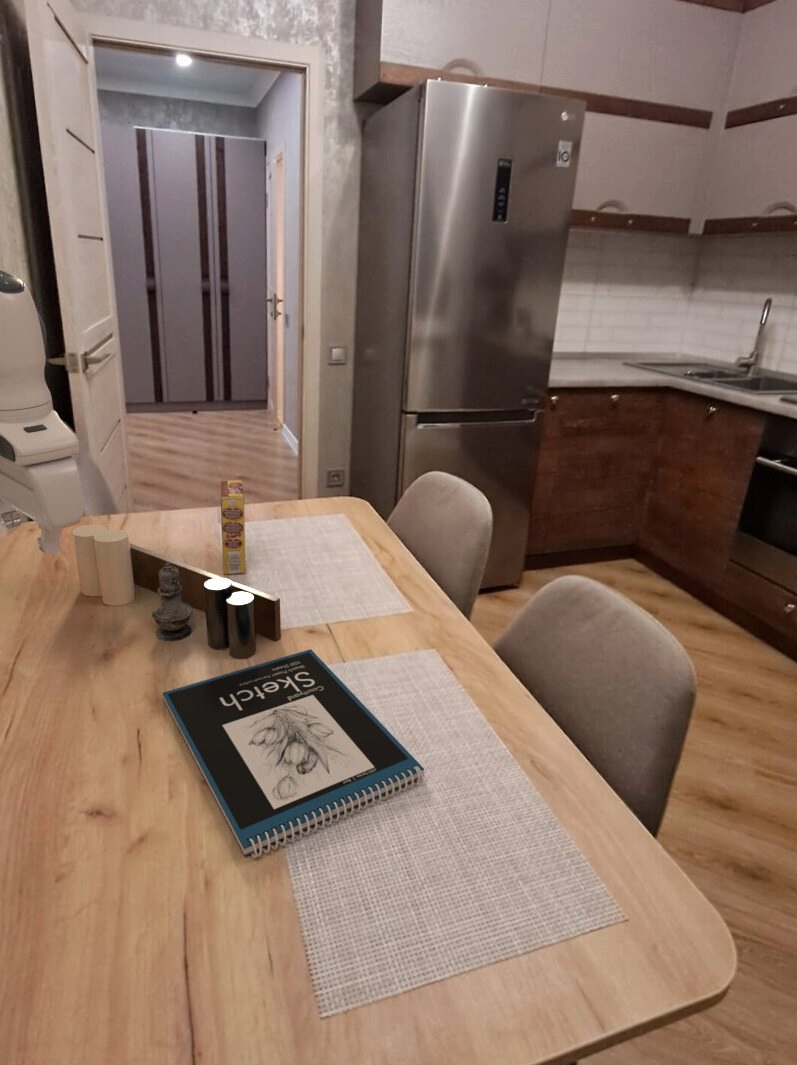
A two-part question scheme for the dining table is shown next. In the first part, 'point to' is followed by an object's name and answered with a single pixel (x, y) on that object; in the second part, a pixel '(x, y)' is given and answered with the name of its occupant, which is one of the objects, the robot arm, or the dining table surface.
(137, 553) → the brown wooden board
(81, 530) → the cream shakers
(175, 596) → the dark grey upright piece
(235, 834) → the sketchbook
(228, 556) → the candy box
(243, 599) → the dark metal shakers
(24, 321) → the robot arm
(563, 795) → the dining table surface
